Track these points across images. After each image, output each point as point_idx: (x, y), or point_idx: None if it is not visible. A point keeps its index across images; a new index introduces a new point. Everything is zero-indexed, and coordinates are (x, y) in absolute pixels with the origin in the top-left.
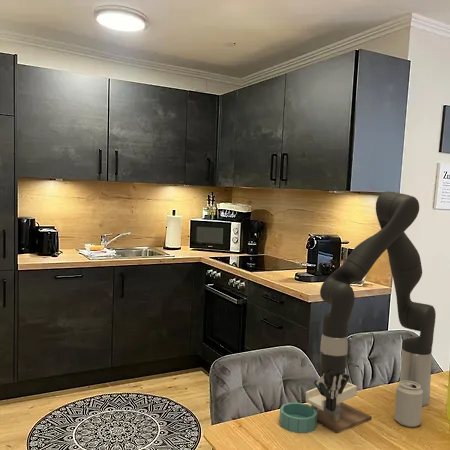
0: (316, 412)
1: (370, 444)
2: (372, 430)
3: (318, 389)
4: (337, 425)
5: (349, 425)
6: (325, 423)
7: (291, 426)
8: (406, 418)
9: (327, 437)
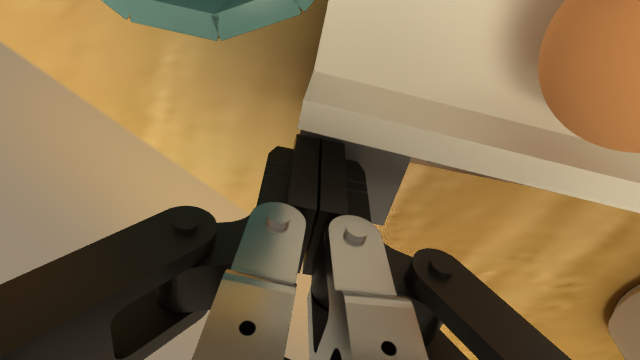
0: (298, 5)
1: None
2: (483, 236)
3: (40, 279)
4: None
5: (432, 164)
6: None
7: None
8: (625, 349)
9: (234, 117)
